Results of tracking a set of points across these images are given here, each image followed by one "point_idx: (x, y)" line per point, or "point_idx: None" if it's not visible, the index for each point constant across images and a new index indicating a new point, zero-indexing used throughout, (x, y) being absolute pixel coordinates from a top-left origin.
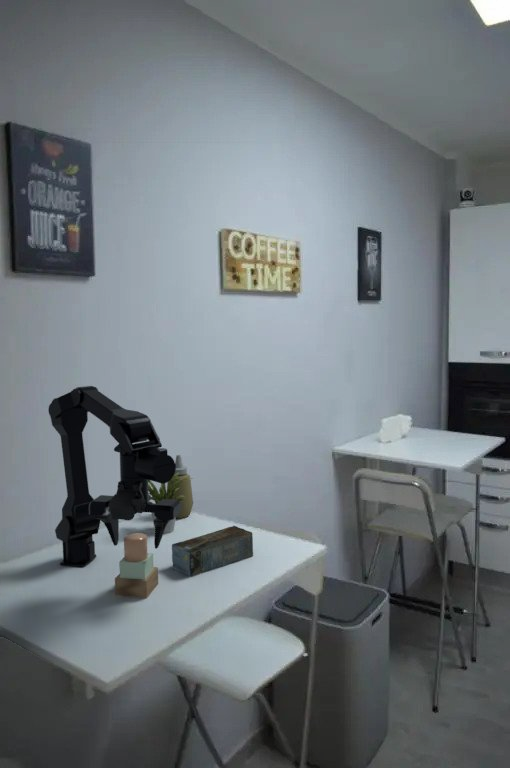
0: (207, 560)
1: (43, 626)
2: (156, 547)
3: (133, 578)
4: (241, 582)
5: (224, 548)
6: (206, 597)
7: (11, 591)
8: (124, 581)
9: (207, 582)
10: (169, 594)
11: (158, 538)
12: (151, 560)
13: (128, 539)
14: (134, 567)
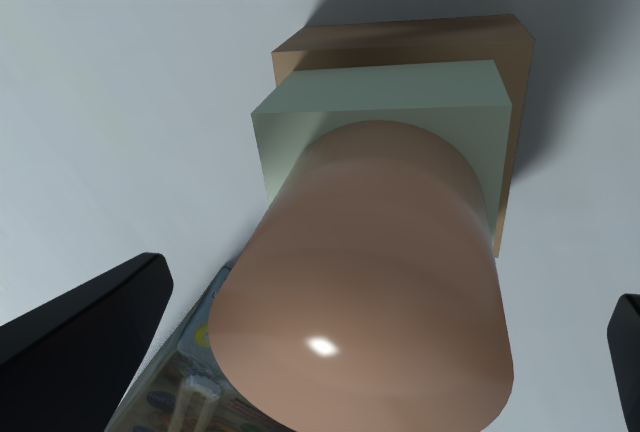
0: (173, 345)
1: None
2: (139, 257)
3: (377, 67)
4: (37, 241)
5: (125, 402)
6: (55, 101)
7: None
8: (446, 40)
9: (138, 230)
10: (216, 97)
11: (26, 313)
12: None
13: (413, 307)
14: (354, 96)
